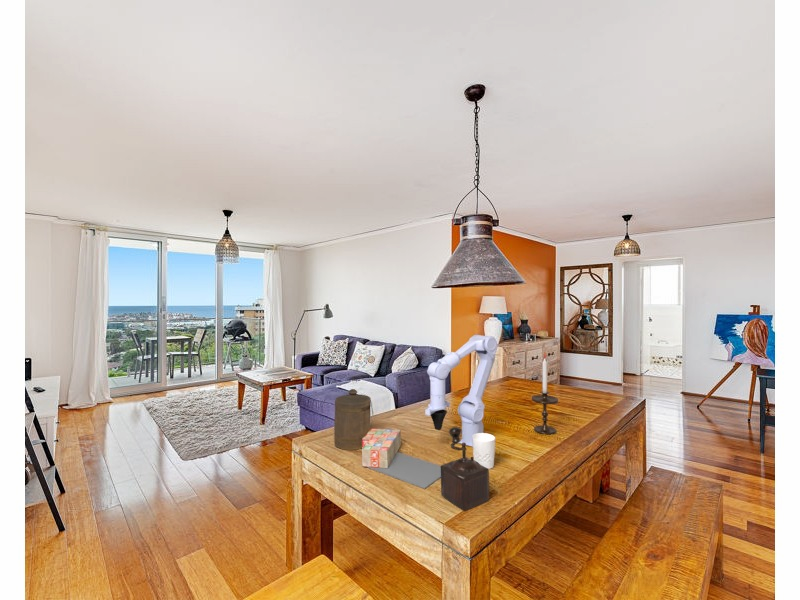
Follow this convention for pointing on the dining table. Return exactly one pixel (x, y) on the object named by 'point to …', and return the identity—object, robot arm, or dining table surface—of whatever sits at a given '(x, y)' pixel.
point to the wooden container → (351, 420)
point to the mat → (412, 470)
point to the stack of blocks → (380, 447)
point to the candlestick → (544, 403)
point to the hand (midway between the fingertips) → (438, 429)
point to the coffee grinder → (464, 478)
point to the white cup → (484, 449)
